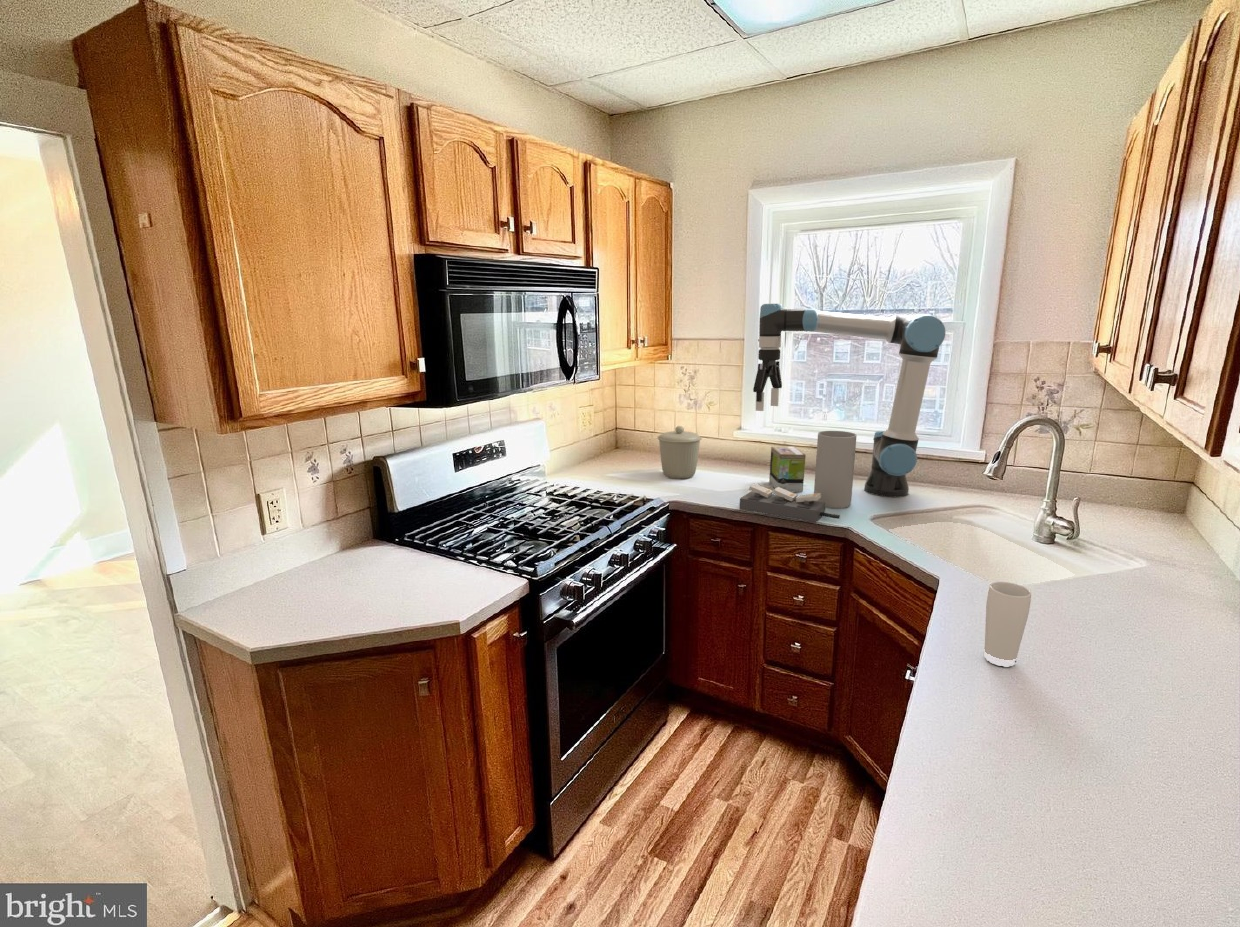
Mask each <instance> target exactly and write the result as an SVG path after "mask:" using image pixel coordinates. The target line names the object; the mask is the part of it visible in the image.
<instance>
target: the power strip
mask: <svg viewBox="0 0 1240 927" xmlns="http://www.w3.org/2000/svg"><path fill="white" fill-rule="evenodd" d="M739 510H741V511H747V512H751V513H752V512H754V513H757V514H758V513H759V514H765V515H769V516H775V517H782V518H788V519H794V520H797V521H804V522H811V523H817V522H818V521H819V520H820V519H821V518H822V517H825V518H832V519H836V520H840V517H841V515H840V514H834V513H828V512H826V511H825V510H826V507H825V503H824V502H817V501H810V502H809V501H805V500H804V502H796V499H795V500H793V501H789V500H787V499H784V497H780V496H777V495H775V494H772V495H771V496H769V497H768V498H767V497H764V496H762V495H760V493H755V492H753V491H749V492H747V493H746V494H744V495H742V496H741V497H739Z"/></svg>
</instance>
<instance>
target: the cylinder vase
mask: <svg viewBox="0 0 1240 927" xmlns="http://www.w3.org/2000/svg"><path fill="white" fill-rule="evenodd" d="M857 435H858V434H857V433H855V432H851V431H846V430H845V431H844V430H822V431H819V432H817V444H816V459H815V470H814V471H815V473H814V488H813V489H814V490H813V494H815V493H821V498H820V499H818V500H816V501H817V502H824V503H825V509H826V508H827V509H837V510H838V509H845V508H849V507H850V506H851V504H852V497H853V487H854V486H853V485H854V483H853V482H854V473H855V472H854V471H855V460H856V448H857V447H856V446H857Z"/></svg>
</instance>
